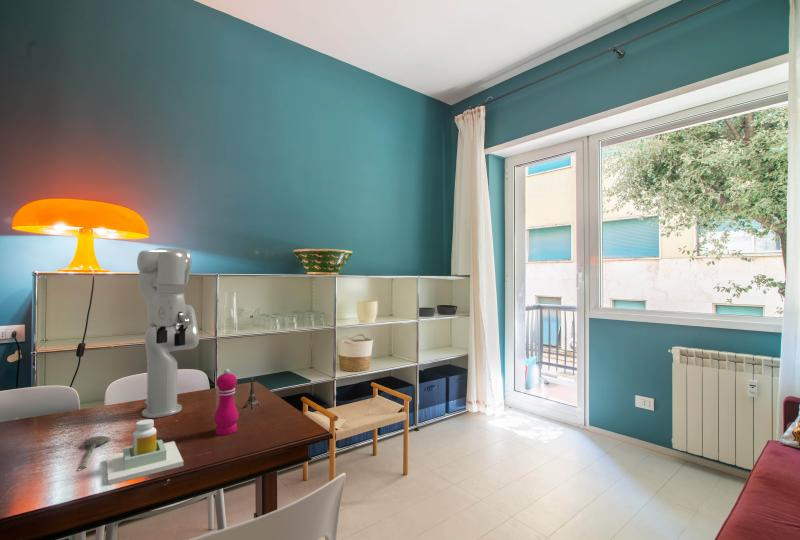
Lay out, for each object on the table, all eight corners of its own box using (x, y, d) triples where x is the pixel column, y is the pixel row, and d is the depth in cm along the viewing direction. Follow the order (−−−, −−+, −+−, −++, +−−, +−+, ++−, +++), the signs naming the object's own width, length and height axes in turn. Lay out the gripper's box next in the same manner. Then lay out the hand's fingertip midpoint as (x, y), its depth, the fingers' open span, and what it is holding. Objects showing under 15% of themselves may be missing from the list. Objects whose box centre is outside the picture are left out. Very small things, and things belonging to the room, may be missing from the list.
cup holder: (108, 485, 95) (108, 469, 95) (106, 460, 108) (106, 446, 108) (183, 465, 105) (183, 451, 105) (174, 445, 117) (174, 432, 117)
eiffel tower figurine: (235, 405, 155) (235, 370, 156) (263, 401, 160) (263, 368, 160) (236, 417, 142) (237, 380, 142) (266, 413, 146) (266, 377, 146)
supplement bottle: (161, 455, 108) (161, 419, 108) (142, 464, 103) (143, 426, 103) (146, 452, 110) (146, 417, 110) (127, 461, 105) (127, 424, 105)
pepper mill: (229, 436, 124) (229, 372, 124) (208, 434, 125) (209, 371, 125) (243, 427, 131) (243, 366, 131) (223, 426, 132) (223, 365, 132)
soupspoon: (112, 441, 123) (86, 446, 120) (112, 430, 123) (85, 434, 120) (97, 468, 104) (65, 475, 101) (96, 455, 104) (64, 462, 101)
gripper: (143, 290, 128) (143, 343, 128) (175, 291, 119) (174, 348, 119) (167, 289, 134) (166, 340, 134) (198, 290, 126) (198, 344, 126)
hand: (170, 344), depth 127 cm, fingers open, 9 cm apart
